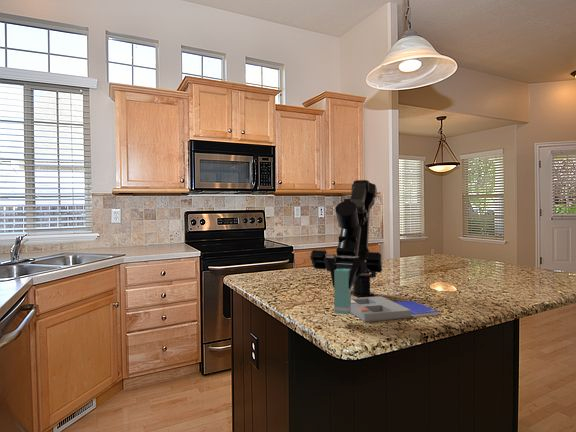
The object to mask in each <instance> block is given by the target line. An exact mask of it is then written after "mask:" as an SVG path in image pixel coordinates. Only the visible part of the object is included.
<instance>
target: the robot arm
mask: <svg viewBox="0 0 576 432" xmlns="http://www.w3.org/2000/svg"><path fill="white" fill-rule="evenodd" d="M350 191H351V193H350V198H344V199H343V201H341V202H339V203H337V205H336V206H335V207H334V208H335V209H334V210H335V215H336V219H337V224H338V227H339V228H340V232H339V236H338V243H337V247H336V250H335V251H336V254H335V253H327V250H326V249H313V250H312V251H311V252H310V256H309V258H310V260H311V263H312V268H313V269H315V270H326V271H327V272H329V273H330V277H331V282H332V286H333V287H332V288H334V270H336V269H337V268H345V269H351V273H350V278H349V289H351V295H353V296H356V297H371V296H374V295H375V293H374V292H372V291H371V279H374V278H376V277H377V273H381V272H383V260H382V259H383V258H382V257H383V256H382V253H381V252H379V251H370V250H369V233H370V232H369V230H370V211H371V208H372V207H373V206H374V205H375V202H376V198H377V197H378V195H377V194H378V190H377V186H376V184H375V183H372V182H370V181H369V180H368V179H358V180H357V179H356V180H353V183H352V184H351V190H350Z"/></svg>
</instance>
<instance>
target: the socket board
mask: <svg viewBox="0 0 576 432" xmlns="http://www.w3.org/2000/svg"><path fill="white" fill-rule="evenodd" d="M395 302H396V301H393V300H391V299H388V298H386V297H384V296H382V295H380V296H379V295H378V296H363V297H355V298H354V297H353V298H352V297H351V311H350V313H351V314H352V315H353V316H355V317H356V318H358V319H360V320H361V321H363V322H364V323H367V322H368V323H369V322H370V323H371V322H378V321H387V320H388V321H389V320H398V319H399V320H400V319H408V318H410V319H411V318H412V316H411V310H410V309H408V308H406V307H403V306H401V305H399V304H397V303H395ZM350 313H349V314H350Z"/></svg>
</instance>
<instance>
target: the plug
mask: <svg viewBox="0 0 576 432" xmlns="http://www.w3.org/2000/svg"><path fill="white" fill-rule="evenodd" d="M350 273H351V269H345V268H337V269H336V270H334V287H333V289H334V296H333V297H334V299H333V300H334V306H333V310H334V314H341V315H349V314H350V311H351V298H352V293H351V291H352V288H351V289H349V278H350Z"/></svg>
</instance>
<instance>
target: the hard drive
mask: <svg viewBox="0 0 576 432" xmlns="http://www.w3.org/2000/svg"><path fill="white" fill-rule="evenodd" d="M394 302H395V303H397V304H399V305H401V306H403V307H406V308H408V309H410V310H411V317H414V318H419V317H428V316H437V315H440V314H441V313H440V310H437V309H434V308H432V307H430V306H427V305H424V304H421V303H419V302H418V301H415V300H402V301H394Z"/></svg>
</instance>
